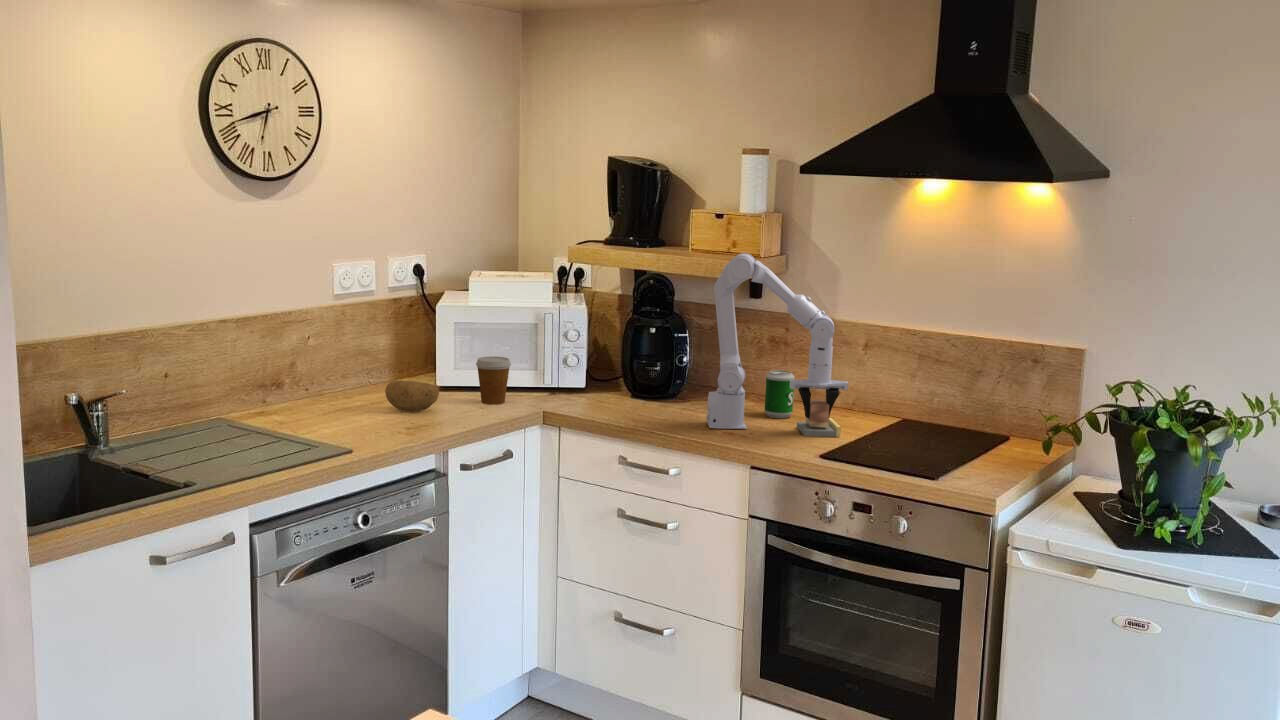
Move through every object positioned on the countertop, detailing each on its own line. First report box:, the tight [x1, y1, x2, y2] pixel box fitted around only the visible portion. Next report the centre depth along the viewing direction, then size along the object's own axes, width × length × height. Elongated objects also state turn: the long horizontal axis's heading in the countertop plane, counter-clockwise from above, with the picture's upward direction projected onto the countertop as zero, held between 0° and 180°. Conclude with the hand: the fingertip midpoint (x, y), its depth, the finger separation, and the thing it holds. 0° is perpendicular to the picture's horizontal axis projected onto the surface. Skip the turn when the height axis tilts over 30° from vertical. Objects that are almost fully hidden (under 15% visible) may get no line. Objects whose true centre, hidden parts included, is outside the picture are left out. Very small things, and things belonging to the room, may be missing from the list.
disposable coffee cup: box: [475, 356, 512, 405], centre depth 306 cm, size 10×10×12 cm
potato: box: [384, 380, 440, 413], centre depth 293 cm, size 10×14×8 cm
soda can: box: [764, 369, 795, 419], centre depth 301 cm, size 8×8×12 cm
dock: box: [796, 417, 842, 438], centre depth 285 cm, size 9×10×3 cm
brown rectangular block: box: [804, 399, 830, 427], centre depth 284 cm, size 4×6×6 cm
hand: (817, 417), depth 284 cm, fingers closed on brown rectangular block, 4 cm apart
